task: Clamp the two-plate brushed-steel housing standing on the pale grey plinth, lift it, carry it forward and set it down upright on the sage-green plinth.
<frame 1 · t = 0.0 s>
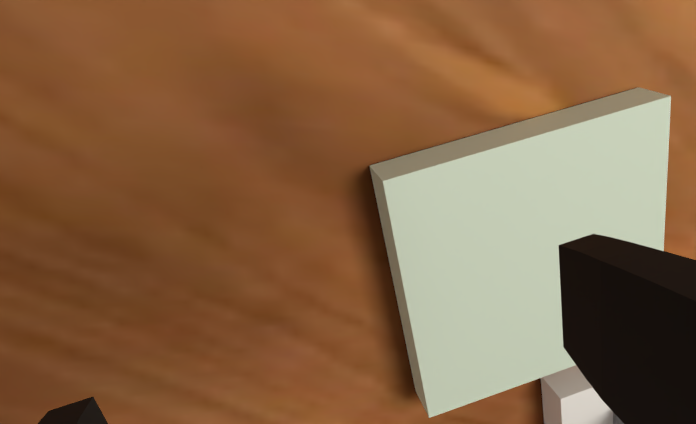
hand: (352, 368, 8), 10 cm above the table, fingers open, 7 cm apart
stand b: (519, 250, 21), on the table
stand a: (631, 415, 27), on the table
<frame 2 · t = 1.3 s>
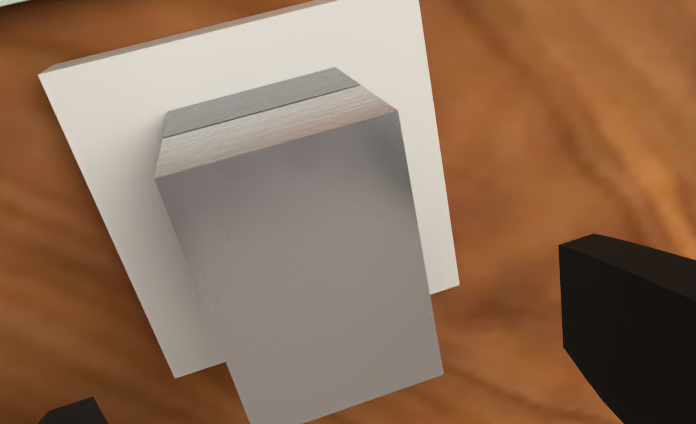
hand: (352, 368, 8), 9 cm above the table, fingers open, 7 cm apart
stand a: (277, 179, 16), on the table
housing: (284, 197, 15), point 1 cm above the table, touching stand a
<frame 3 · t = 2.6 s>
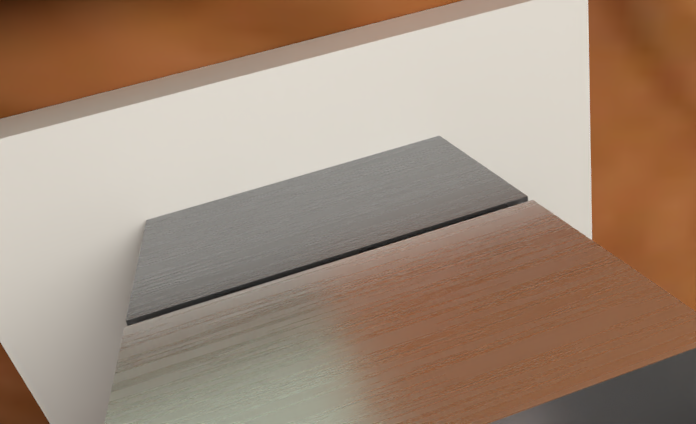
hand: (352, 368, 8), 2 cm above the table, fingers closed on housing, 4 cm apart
stand a: (324, 296, 10), on the table
housing: (343, 344, 9), point 1 cm above the table, touching gripper, stand a
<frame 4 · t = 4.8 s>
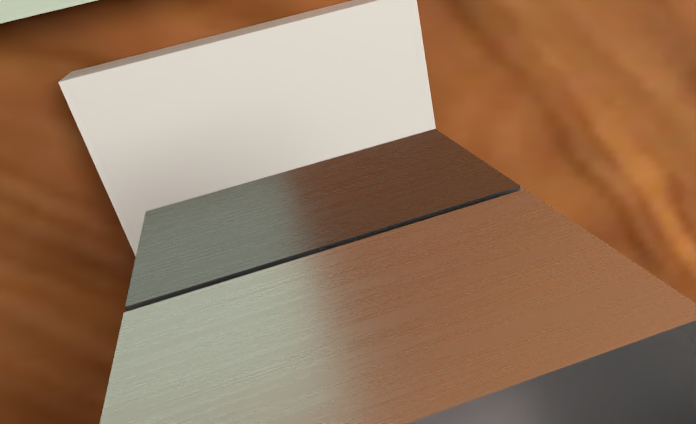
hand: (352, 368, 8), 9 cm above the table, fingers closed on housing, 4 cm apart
stand a: (283, 179, 17), on the table
housing: (340, 336, 9), point 9 cm above the table, touching gripper
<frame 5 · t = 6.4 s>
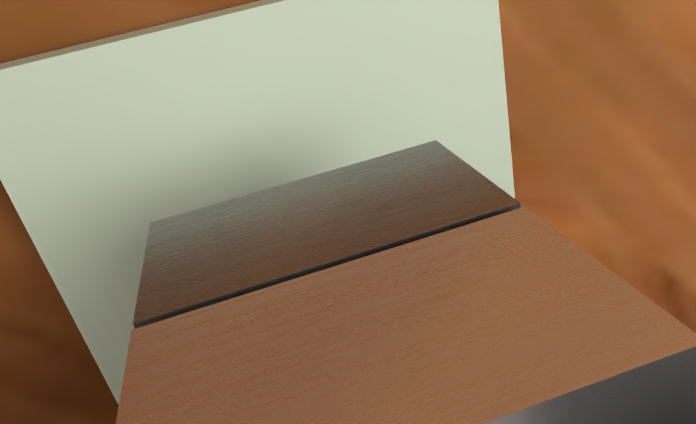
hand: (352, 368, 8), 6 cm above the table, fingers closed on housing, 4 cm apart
stand b: (294, 220, 14), on the table
housing: (341, 342, 9), point 5 cm above the table, touching gripper
when the fingers open (3 cm above the table, at t = 7.4 s): housing stays where it is, resting on stand b.
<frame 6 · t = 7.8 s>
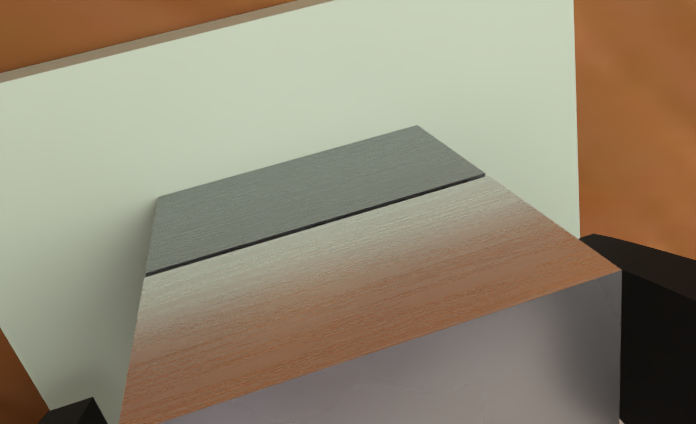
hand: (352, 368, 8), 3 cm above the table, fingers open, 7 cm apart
stand b: (313, 268, 11), on the table
housing: (332, 313, 10), point 1 cm above the table, touching stand b
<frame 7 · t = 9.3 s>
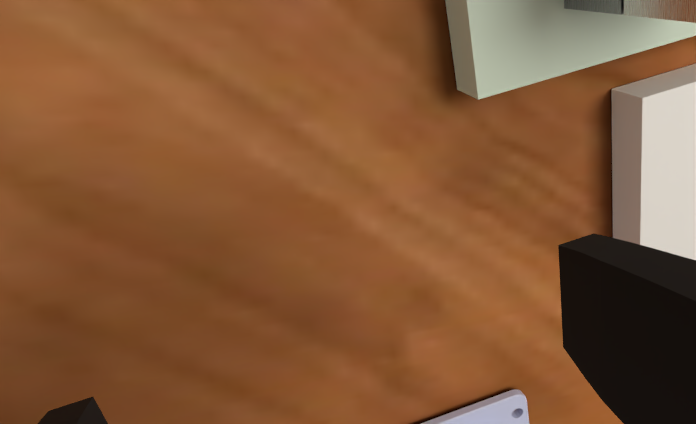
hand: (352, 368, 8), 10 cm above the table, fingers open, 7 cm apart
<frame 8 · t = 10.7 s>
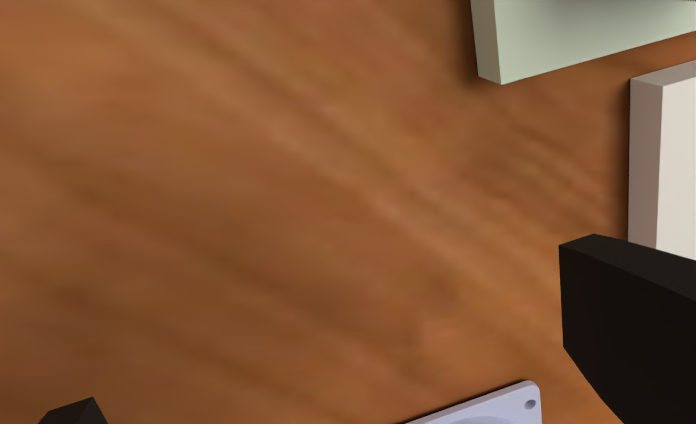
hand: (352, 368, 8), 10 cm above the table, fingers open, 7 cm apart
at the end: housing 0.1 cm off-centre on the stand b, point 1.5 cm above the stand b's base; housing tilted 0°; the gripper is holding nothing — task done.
